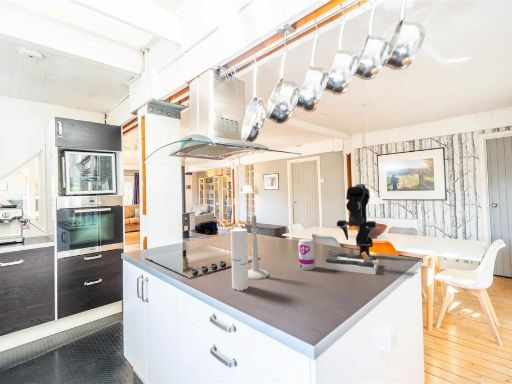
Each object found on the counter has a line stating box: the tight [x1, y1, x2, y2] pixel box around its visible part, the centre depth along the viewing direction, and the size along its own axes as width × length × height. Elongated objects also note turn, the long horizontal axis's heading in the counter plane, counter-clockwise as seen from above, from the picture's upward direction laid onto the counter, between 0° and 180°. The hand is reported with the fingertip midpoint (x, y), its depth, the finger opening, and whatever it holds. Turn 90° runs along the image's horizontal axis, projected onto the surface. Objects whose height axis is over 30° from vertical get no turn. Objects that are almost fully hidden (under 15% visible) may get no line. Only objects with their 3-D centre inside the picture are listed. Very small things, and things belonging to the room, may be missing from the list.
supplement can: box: [298, 238, 316, 271], centre depth 138 cm, size 8×8×15 cm
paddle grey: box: [326, 248, 335, 257], centre depth 144 cm, size 4×2×5 cm, turn 150°
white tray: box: [324, 254, 379, 275], centre depth 138 cm, size 18×24×5 cm
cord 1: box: [325, 258, 374, 267], centre depth 132 cm, size 3×24×2 cm, turn 61°
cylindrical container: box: [230, 228, 249, 291], centre depth 113 cm, size 7×7×25 cm
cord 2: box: [333, 252, 378, 260], centre depth 145 cm, size 3×24×2 cm, turn 60°
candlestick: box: [248, 215, 270, 280], centre depth 129 cm, size 13×13×30 cm
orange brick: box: [361, 252, 370, 260], centre depth 135 cm, size 4×2×5 cm, turn 151°
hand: (356, 240), depth 135 cm, fingers open, 9 cm apart
